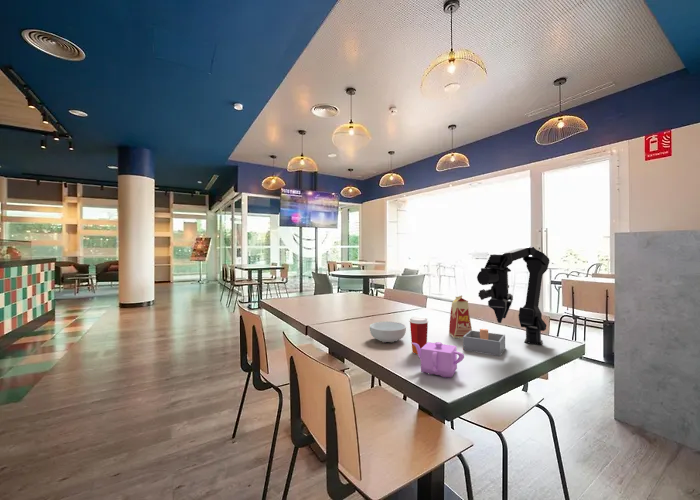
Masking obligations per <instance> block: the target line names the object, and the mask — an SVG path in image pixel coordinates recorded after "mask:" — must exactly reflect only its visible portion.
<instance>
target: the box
mask: <svg viewBox="0 0 700 500" xmlns="http://www.w3.org/2000/svg"><path fill="white" fill-rule="evenodd" d="M462 344H463V345H462V349H463V351H469V352H475V353H480V354H486V355H493V356H497V357H501V356H502V354H503V353H504V351H505V349H506V334H501V333H493V332H488V340H486V339H480V330H479V331H478V330H473V329H472V330H470V331H469V332H468V333H467V334H466V335H464V336H463V338H462Z"/></svg>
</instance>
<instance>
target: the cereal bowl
mask: <svg viewBox="0 0 700 500" xmlns="http://www.w3.org/2000/svg"><path fill="white" fill-rule="evenodd" d="M369 332H370V335H371V336H372V338H374V339H376V340H378V341H380V342H381V341H383V342H382V343H384V342H393V343H395V342H394V341H396V342H397V341H399V340H401V339H403V338H404V336H405V335H406V334H407V333H406V332H407V327H406V325H405V324H404V323H402V322H398V321H378V322H373V323H371V324H370V325H369Z"/></svg>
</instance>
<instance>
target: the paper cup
mask: <svg viewBox="0 0 700 500" xmlns="http://www.w3.org/2000/svg"><path fill="white" fill-rule="evenodd" d="M408 322H409V325H410V337H411V338H410V339H411V351H412V354H414V353H416V354H415V355H418V353H417V349H416V347H415V346H414V345H413V344H412V343H417V344H418V345H419V346H420V349H421V348H422V347H423V346H424V345H425V344H426V343H428V326H429V325H428V323H429V320H428V318H427V317H425V316H411V317H410V318H409V320H408Z"/></svg>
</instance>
